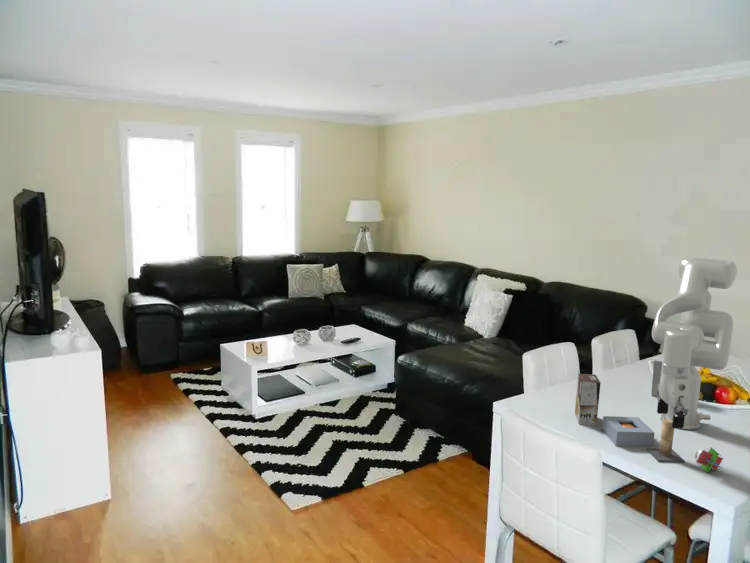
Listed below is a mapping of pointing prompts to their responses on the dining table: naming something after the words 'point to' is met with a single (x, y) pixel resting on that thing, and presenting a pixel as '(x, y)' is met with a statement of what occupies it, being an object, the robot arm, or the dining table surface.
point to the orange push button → (627, 426)
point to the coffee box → (587, 399)
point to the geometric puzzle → (708, 459)
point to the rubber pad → (660, 458)
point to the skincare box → (656, 375)
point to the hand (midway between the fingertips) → (669, 420)
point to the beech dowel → (666, 438)
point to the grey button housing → (628, 431)
